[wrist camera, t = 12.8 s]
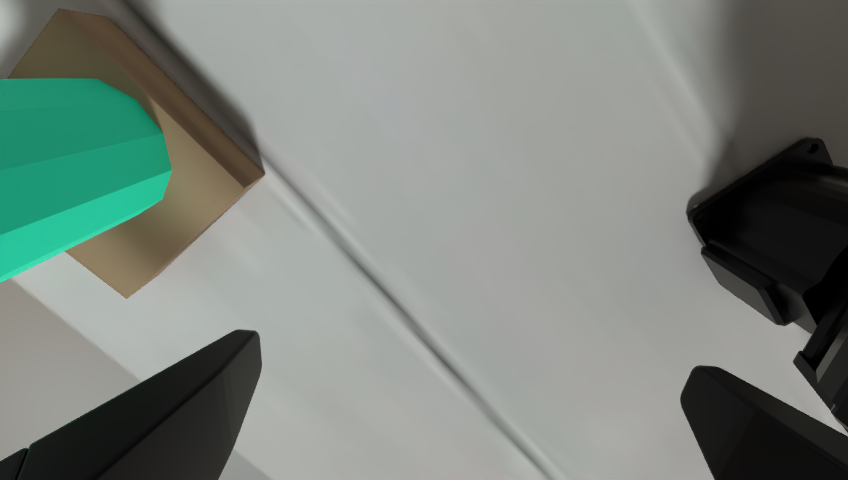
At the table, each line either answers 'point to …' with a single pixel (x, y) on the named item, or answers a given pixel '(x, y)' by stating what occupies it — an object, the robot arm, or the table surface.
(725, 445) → the robot arm
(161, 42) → the table surface
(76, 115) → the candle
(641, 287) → the table surface
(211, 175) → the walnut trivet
